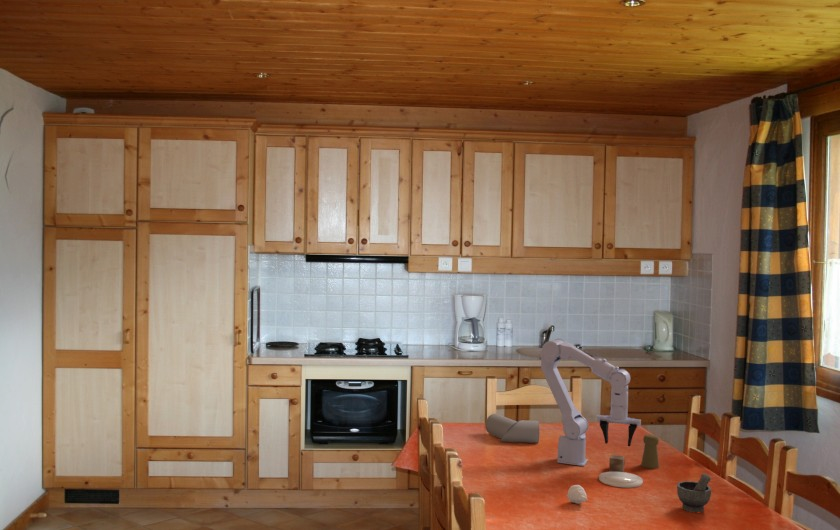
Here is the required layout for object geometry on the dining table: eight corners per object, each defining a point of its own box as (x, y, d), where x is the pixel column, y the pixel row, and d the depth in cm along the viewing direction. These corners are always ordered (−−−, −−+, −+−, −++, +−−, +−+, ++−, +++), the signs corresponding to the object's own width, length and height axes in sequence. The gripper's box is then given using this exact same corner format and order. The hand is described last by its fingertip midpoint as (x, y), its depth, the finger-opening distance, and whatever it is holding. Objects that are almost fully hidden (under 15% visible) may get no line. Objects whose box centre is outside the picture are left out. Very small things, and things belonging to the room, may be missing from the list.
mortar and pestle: (669, 505, 234) (670, 465, 233) (695, 502, 237) (696, 463, 236) (693, 518, 223) (695, 477, 223) (720, 515, 226) (722, 474, 226)
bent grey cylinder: (487, 441, 296) (539, 443, 295) (487, 413, 297) (540, 415, 297) (484, 439, 313) (534, 441, 312) (484, 413, 315) (534, 414, 314)
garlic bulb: (577, 509, 228) (577, 490, 228) (565, 502, 234) (566, 484, 234) (592, 506, 231) (593, 488, 230) (580, 500, 236) (581, 482, 236)
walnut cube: (609, 470, 267) (609, 457, 267) (611, 467, 271) (611, 454, 271) (622, 472, 265) (623, 459, 265) (624, 469, 269) (624, 456, 269)
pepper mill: (659, 469, 270) (661, 437, 269) (641, 467, 271) (643, 436, 271) (658, 464, 276) (659, 433, 275) (640, 462, 277) (641, 432, 277)
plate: (595, 483, 252) (595, 480, 252) (602, 471, 265) (602, 468, 265) (639, 490, 247) (640, 486, 247) (645, 477, 260) (645, 474, 260)
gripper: (595, 405, 266) (594, 444, 267) (639, 409, 261) (638, 449, 261) (599, 401, 273) (598, 439, 273) (642, 405, 267) (640, 444, 268)
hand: (617, 444), depth 268 cm, fingers open, 7 cm apart
